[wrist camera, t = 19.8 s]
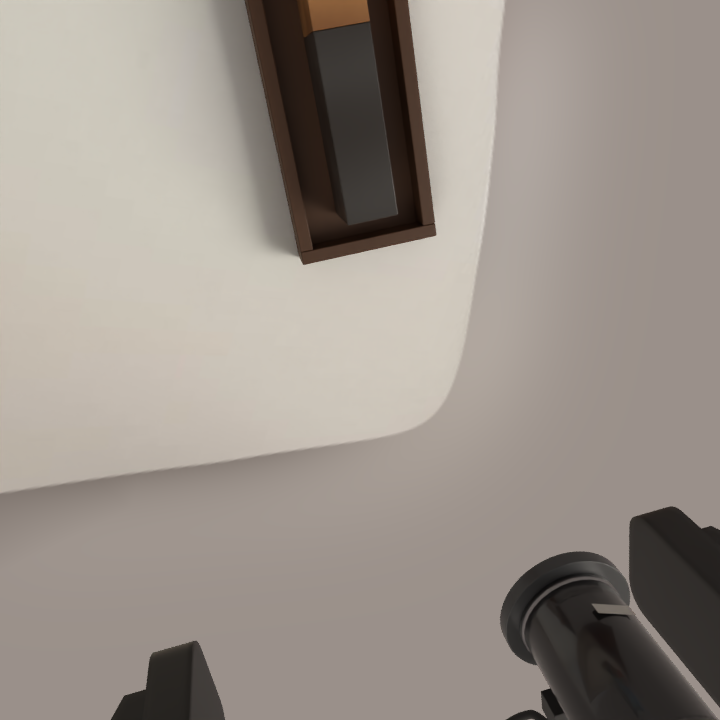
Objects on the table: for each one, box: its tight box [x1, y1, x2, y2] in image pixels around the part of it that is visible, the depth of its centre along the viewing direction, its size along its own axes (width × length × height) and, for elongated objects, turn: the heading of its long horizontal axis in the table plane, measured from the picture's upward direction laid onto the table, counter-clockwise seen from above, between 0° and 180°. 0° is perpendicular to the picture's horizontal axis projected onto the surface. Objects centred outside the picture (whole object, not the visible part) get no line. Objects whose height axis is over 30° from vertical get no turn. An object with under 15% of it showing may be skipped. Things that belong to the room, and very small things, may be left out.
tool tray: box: [245, 0, 436, 265], centre depth 36 cm, size 25×9×2 cm, turn 9°
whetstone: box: [297, 0, 398, 225], centre depth 35 cm, size 20×3×4 cm, turn 10°
